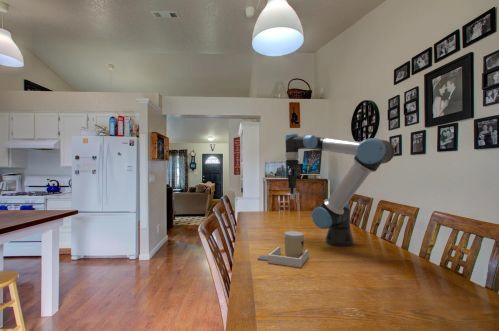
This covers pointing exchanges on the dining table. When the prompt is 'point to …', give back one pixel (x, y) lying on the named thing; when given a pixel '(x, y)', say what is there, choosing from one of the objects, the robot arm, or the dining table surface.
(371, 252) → the dining table surface
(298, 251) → the coffee cup
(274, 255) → the frame
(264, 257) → the slate tile
